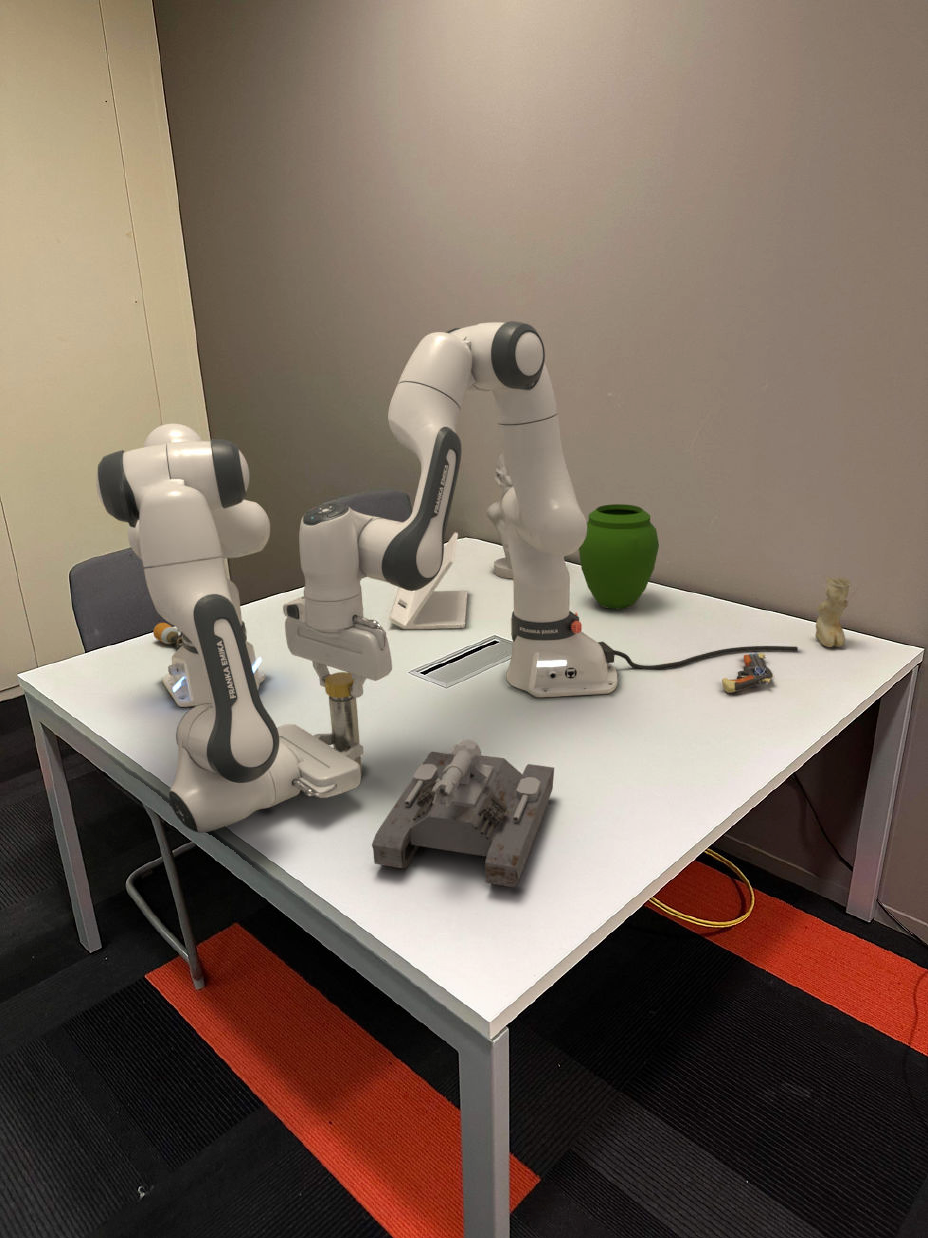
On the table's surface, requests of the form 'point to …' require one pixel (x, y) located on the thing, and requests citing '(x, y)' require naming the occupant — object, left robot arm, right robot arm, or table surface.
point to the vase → (618, 554)
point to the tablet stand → (432, 601)
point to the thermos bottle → (344, 724)
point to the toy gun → (749, 674)
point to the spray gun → (167, 634)
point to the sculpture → (832, 613)
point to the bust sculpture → (501, 520)
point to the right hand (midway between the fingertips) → (341, 690)
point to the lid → (338, 684)
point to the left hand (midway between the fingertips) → (350, 742)
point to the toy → (468, 812)
